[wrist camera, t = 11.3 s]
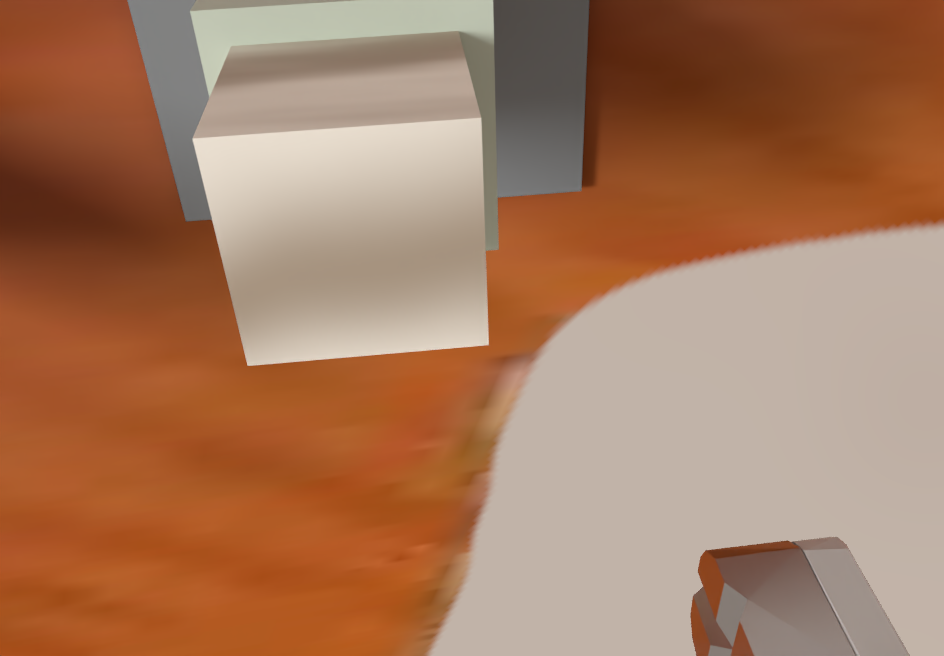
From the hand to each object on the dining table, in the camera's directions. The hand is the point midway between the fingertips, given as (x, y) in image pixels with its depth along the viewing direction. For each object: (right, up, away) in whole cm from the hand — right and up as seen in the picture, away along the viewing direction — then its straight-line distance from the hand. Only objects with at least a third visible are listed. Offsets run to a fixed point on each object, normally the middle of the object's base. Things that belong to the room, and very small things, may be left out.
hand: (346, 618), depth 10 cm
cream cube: (-1, +8, +11) cm, 13 cm away
